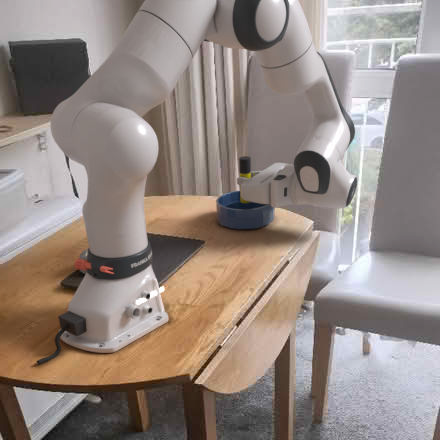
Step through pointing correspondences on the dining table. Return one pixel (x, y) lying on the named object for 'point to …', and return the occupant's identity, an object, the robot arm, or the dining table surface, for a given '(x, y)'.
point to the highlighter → (244, 171)
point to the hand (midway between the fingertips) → (242, 177)
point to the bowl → (242, 212)
